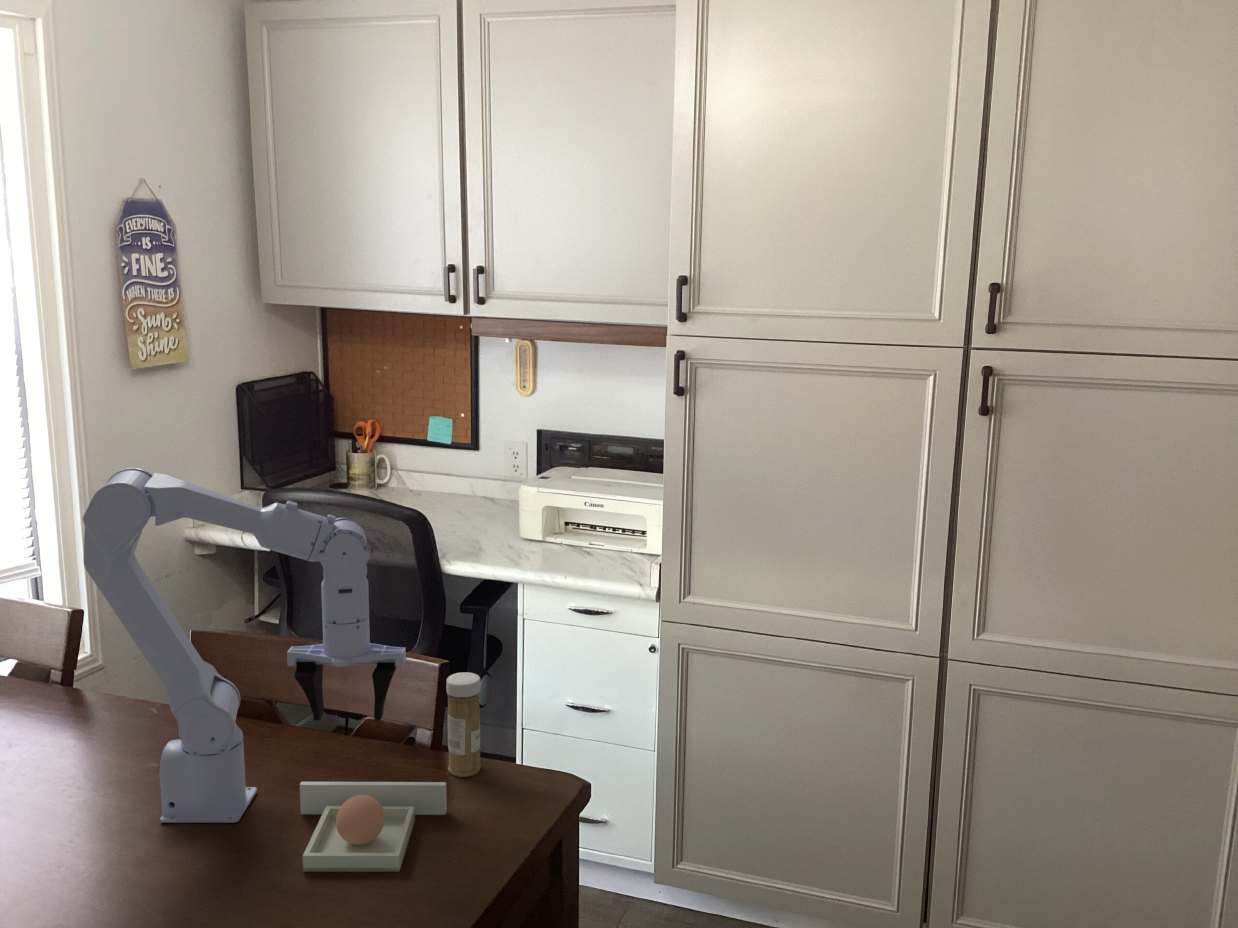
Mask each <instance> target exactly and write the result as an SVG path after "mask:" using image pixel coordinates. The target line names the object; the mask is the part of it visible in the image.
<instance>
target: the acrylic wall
mask: <svg viewBox="0 0 1238 928" xmlns="http://www.w3.org/2000/svg"><path fill="white" fill-rule="evenodd" d="M299 783H300V784H299V803H300V807H299V808H300V815H322V814H323V812H324V810H325V808H326V806H342V804H343V803H344V802H345V801H347V800H348V799H349V798H351V797H353V796H357V795H368V796H371V797H373V798H375V799H376V800H377V801H378V802H379V803H380V804H381V806H415V816H417V815H419V816H420V815H421V816H424V815H427V816H428V815H433V816H438V815H439V816H441V815H442V816H444V815H445V816H446V814H447V782H443V781H440V782H439V781H438V782H437V781H436V782H435V781H434V782H433V781H420V782H419V781H300V782H299Z"/></svg>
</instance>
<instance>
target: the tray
mask: <svg viewBox="0 0 1238 928" xmlns="http://www.w3.org/2000/svg"><path fill="white" fill-rule="evenodd" d="M340 807H341V806H326V808H325V810H324V812H323V814H321V816H320V818H319V820H318V823H317V825H316V827H315V829H314V831H313V833H312V835H311V837H310V840H309V841H308V844H307V846H306V848H305V850H304V852H303V854H302V871H303V872H304V873H309V872H311V873H312V872H313V873H315V872H316V873H320V872H321V873H328V872H329V873H333V872H335V873H339V872H340V873H364V872H365V873H381V872H382V873H387V872H388V873H400V870H401V867H402V865H403V861H404V857H405V855H406V851H407V847H408V844H409V841H410V838H411V834H412V831H413V828H414V825H415V821H416V817H415V816H416V815H415V806H382V808H383V810H384V814H385V822H384V826H383V829H382V831H381V832H380V834H379V835H378V836H377V837H376V838H375V839H374V840H373V841H371V842H369V843H367V844H363V845H353V844H350V843H348V842H346V841H345V840H344V839H343V838H342V837H341V836H340V835H339V833H338V831H337V827H336V816H337V813H338V811H339V809H340Z"/></svg>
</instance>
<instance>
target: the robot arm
mask: <svg viewBox="0 0 1238 928" xmlns="http://www.w3.org/2000/svg"><path fill="white" fill-rule="evenodd" d="M152 517H155V518H154V519H155V520H154V522H155V523H154V524H155V526H156V527H157V526H162V525H164V524H168V523H170V522H174V521H177V520H180V519H183V518H187V519H190V520H195V521H198V522H204V523H207V524H211V525H216V526H220V527H223V528H227V529H231V530H236V531H239V532H243V533H248V534H250V535H253V536H254V538H255V539H256V540H257V543H258V544H259V546H260V547H261V548H262V549H268V550H269V551H274V552H277V553H280V554H283V555H288V556H291V557H293V558H298V559H301V560H305V561H308V562H319V563H320V566H322V569H323V571H322V572H323V573H322V574H323V575H322V577H323V579H322V581H321V584H320V586H321V587H320V588H321V589H320V591H321V616H322V618H321V619H322V622H321V623H322V643H320V644H319V643H317V644H312V645H311V644H310V645H300V646H299V645H298V646H297V645H295V646H294V645H293V646H290V648H289V649H287V652H286V656H287V657H286V658H287V667H296V669H295V671H294V674H293V675H294V679H295V680H296V682H297V684H299V686H300V687H301V689H302V691H303V692H304V694H305V697H306V698H307V700H308V703H309V707H310V709H311V713H312V717H313V720H314V721H320V720H321V718H322V717H323V716H324V705H325V704H324V692H323V672H324V665H331V666H332V667H340V668H341V667H343V668H344V667H348V666H352V665H353V666H354V665H356V666H357V665H358V666H376V667H375V668H374V670H373V671H372V673H371V678H372V683H373V691H374V693H373V695H374V712H373V713H374V714H373V716H374V721H375V722H380V721H381V720H382V718H383V716H384V708H385V702H386V698H387V694H388V691H389V687H390V685H391V682H392V680H393V676H394V674H395V671H396V669H397V668H404V666H405V664H406V662H407V654H406V651H407V650H406V648H407V647H405V646H404V647H403V646H390V645H383V644H377V643H371V640H370V638H371V637H370V635H371V634H370V601H369V600H370V599H369V598H370V597H369V595H370V594H369V593H370V592H369V580H368V578H367V575H368V566H367V564H368V562H369V559H370V550H369V547H368V540H367V536H366V533H365V531H364V529H363V528H362V526H361V525H360V524H358V523H357V522H356V521H353V520H351V519H350V518H348V517H337V516H336V515H333V514H327V516H323V515H319V514H316V513H314V512H310V511H307V510H303V509H300V508H298V502H296V501H295V502H294V501H292V500H286V503H285V504H284V503H280V502H274V503H272V504H269V505H267V506H264V507H260V506H256V505H253V504H251V503H248V502H245V501H241V500H239V499H236V498H233V497H231V496H228V495H224V494H222V493H219V492H216V491H214V490H211V489H208V488H205V487H201V486H199V485H197V484H194V483H190V482H187V481H185V480H182V479H179V478H176V477H174V476H171V475H168V474H166V473H165V474H164V473H158V472H154V473H153V474H152V473H151V472H150V471H148V470H146V469H143V468H140V467H139V468H138V467H127V468H123V469H121V470H117V472H114V474H112V475H111V476H110V477H109V479H107V481H106V484H104V486H102V487H101V488H99V489H98V490H97V491H95V493H94V494H93V496H92V498H91V500H90V502H89V504H88V506H87V509H85V512H84V515H83V517H82V521H83V525H84V537H83V538H84V541H83V542H84V543H83V565H84V568H85V570H86V572H87V573H88V576H89V577H90V578H91V579H92V581H93V582H94V584H95V585H96V587H97V588H98V590H99V591H100V593H101V594H102V596H103V597H104V599H105V600H106V601H107V604H109V606H110V608H111V609H112V610H113V612H114V613H115V615H116V617H117V618H118V619H119V621H120V622H121V624H122V625H123V627H124V628H125V630H126V631H127V633H128V635H129V636H130V637H131V638H132V641H134V643H135V644H136V646H137V647H138V649H139V650H140V652H141V654H142V655H143V656H144V658H145V659H146V661H147V663H148V664H149V666H150V667H151V669H153V671H154V673H155V674H156V675H157V677H158V678H159V680H160V682H161V683H162V685H163V686H164V688H165V689H166V693H167V698H168V702H169V703H168V704H169V707H170V710H171V711H170V712H171V713H172V715H173V716H174V717H175V718H176V721H177V724H178V735H179V738H180V739H173V740H172V739H171V740H169V741H168V742H167V743H166V744H165V746H164V748H163V750H162V754H161V758H160V762H159V763H160V764H159V785H160V798H161V799H160V801H161V816H160V818H159V822H160V823H165V824H166V823H168V824H169V823H177V824H178V823H179V824H180V823H187V824H188V823H193V824H194V823H197V824H198V823H199V824H200V823H201V824H202V823H205V824H206V823H208V824H210V823H211V824H213V823H214V824H215V823H218V824H220V823H221V824H223V823H224V824H226V823H227V824H229V823H230V824H231V823H232V824H235V823H238V822H239V821H240V820H241V818H242V816H243V814H244V813H245V812H246V811H247V808H248V807H249V805H250V803H251V802H252V800H253V798H254V797H255V795H256V794H257V792H258V789H257V787H255V786H252V787H251V786H247V785H246V769H245V748H244V746H245V745H244V733H243V730H242V729H241V728H240V727H239V726H238V724H237V722H236V720H237V717H238V715H237V714H238V710H239V708H240V705H241V694H240V691H239V689H238V687H237V686H236V685H235V684H234V683H233V682H232V681H230V680H229V679H226V678H224V677H223V676H221V674H219V672H218V671H217V669H216V668H215V667H214V666H213V665H212V664H210V663H209V662H207V661H205V660H203V658H202V657H201V655H200V654H199V652H198V651H197V649H196V647H195V646H194V645H193V643H192V641H191V640H190V639H189V637H188V636H187V634H186V632H185V630H184V629H183V628H182V627H181V625H180V624H179V621H178V620H177V618H176V617H175V616H174V614H173V612H172V611H171V610H170V608H169V607H168V605H167V603H166V602H165V600H164V599H163V598H162V595H161V594H160V593H159V591H158V589H157V587H155V585H154V584H153V582H152V581H151V579H150V577H149V576H148V575H147V573H146V571H145V570H144V569H143V566H142V565H141V564H140V562H139V561H138V559H137V558H136V556H135V552H136V549H137V546H138V544H139V541H140V538H141V536H142V533H143V529H144V528H145V527H146V526H147V524H148V522H149V520H150V518H152ZM336 517H337V518H336Z"/></svg>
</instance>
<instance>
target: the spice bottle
mask: <svg viewBox="0 0 1238 928" xmlns="http://www.w3.org/2000/svg"><path fill="white" fill-rule="evenodd" d="M481 679H482V678H481V677H480V675H478V674H477V673H474V672H468V671H467V672H464V671H463V672H456V673H453V674H450V675H448V677H447V678H446V683H445V684H446V685H445V686H446V689H445V690H446V694H447V748H448V766H447V770H448V772H449V773H450V774H452V775H453V776H455V777H461V778H465V777H471V776H474V775H476V774H478V773H479V772H480V771H481V768H482V765H481V714H480V693H481V691H482V689H481V687H482V686H481V685H482V684H481V683H482V682H481Z"/></svg>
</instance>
